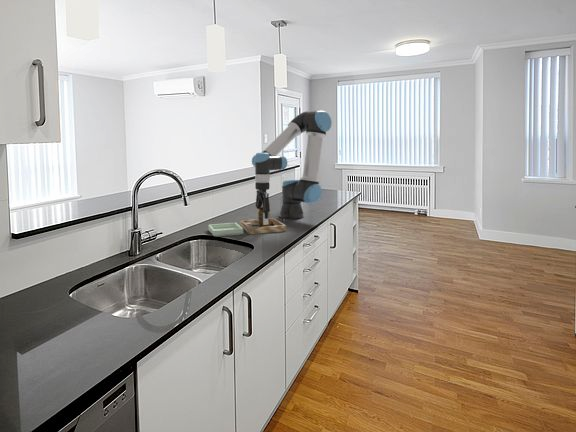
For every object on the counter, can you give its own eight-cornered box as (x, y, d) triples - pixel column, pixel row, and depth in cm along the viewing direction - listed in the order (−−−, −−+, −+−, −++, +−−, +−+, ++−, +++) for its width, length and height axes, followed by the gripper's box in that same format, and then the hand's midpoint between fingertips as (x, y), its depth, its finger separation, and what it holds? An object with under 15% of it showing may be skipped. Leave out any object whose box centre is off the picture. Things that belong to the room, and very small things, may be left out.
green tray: (236, 228, 222) (235, 222, 221) (243, 234, 208) (243, 228, 208) (208, 230, 216) (208, 224, 216) (214, 236, 203) (213, 230, 202)
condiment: (272, 228, 221) (272, 207, 219) (259, 230, 216) (259, 208, 214) (265, 226, 227) (265, 205, 225) (252, 228, 222) (252, 206, 220)
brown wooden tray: (273, 223, 234) (273, 218, 234) (286, 230, 216) (286, 225, 215) (240, 225, 227) (240, 220, 227) (250, 233, 209) (249, 228, 208)
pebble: (249, 226, 226) (249, 222, 226) (252, 227, 224) (252, 223, 224) (244, 227, 224) (244, 223, 224) (247, 228, 222) (247, 224, 222)
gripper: (249, 179, 226) (250, 218, 230) (262, 184, 205) (262, 227, 209) (262, 179, 228) (262, 217, 233) (276, 184, 207) (276, 226, 212)
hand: (262, 222), depth 221 cm, fingers open, 10 cm apart
